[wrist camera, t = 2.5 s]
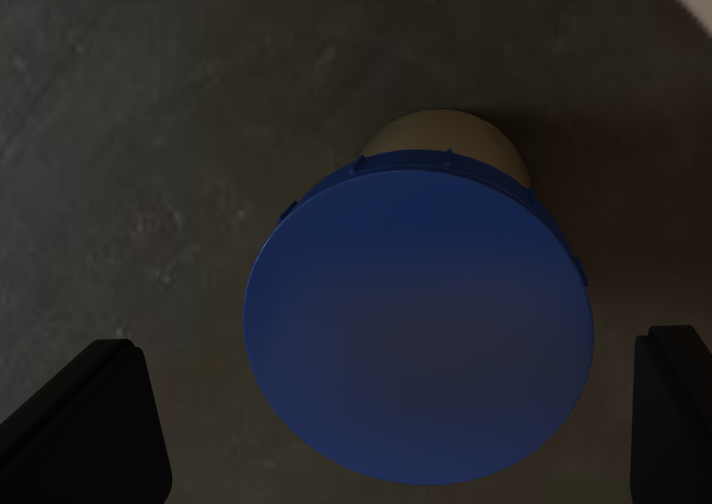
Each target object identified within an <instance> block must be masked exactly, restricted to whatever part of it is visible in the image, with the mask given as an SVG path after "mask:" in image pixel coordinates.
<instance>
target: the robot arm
mask: <svg viewBox="0 0 712 504" xmlns="http://www.w3.org/2000/svg"><path fill="white" fill-rule="evenodd" d="M171 487H172V471H171V467H170V463H169V459H168V454H167V450H166V446H165V442H164V437H163V433H162V429H161V425H160V421H159V416H158V412H157V408H156V404H155V399H154V395H153V391H152V387H151V382H150V378H149V374H148V370H147V365H146V361H145V357H144V354H143V351H142V350H141V348H139V347H135V346H134V344H133V343H132V341H130V340H129V339H107V340H95V341H93V342H92V343H91V344H90V345H88V346H87V347H86V348H85V349H84V350H83V351H82V352H81V353H80V354H78V355H77V356H76V357H75V358H74V359H73V360H72V361H71V362H70V363H68V364H67V365H66V366H65V367H64V368H63V369H62V370H61V371H59V372H58V373H57V374H56V375H55V376H54V377H53V378H52V379H51V380H49V381H48V382H47V383H46V384H45V385H44V386H43V387H42V388H41V389H39V390H38V391H37V392H36V393H35V394H34V395H33V396H32V397H30V398H29V399H28V400H27V401H26V402H25V403H24V404H23V405H22V406H20V407H19V408H18V409H17V410H16V411H15V412H14V413H13V414H12V415H10V416H9V417H8V418H7V419H6V420H5V421H4V422H3V423H1V424H0V504H164V502H165V501H166V499H167V497H168V495H169V493H170V490H171ZM630 487H631V496H632V501H633V504H712V354H711V352H710V351H709V350H708V348H707V347H706V345H705V344H704V342H703V341H702V339H701V338H700V337H699V335H698V334H697V332H696V331H695V329H694V328H693V327H692V326H691V325H676V326H651V327H650V328H649V332H648V335H647V336H637V337H636V341H635V358H634V386H633V414H632V442H631V470H630Z"/></svg>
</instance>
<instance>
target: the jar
mask: <svg viewBox="0 0 712 504" xmlns="http://www.w3.org/2000/svg"><path fill="white" fill-rule="evenodd" d="M405 149H429V150H437V151H445V152H447V149H453V152H452V153H455V154H459V155H463V156H467V157H471V158H473V159H476V160H478V161H481V162H483V163H486V164H488V165H491V166H493V167H495V168H497V169H498V170H500V171H502V172H504V173H505V174H507V175H509V176H511V177H512V178H514V179H515V180H516V181H518V182H519V183H520V184H522V185H523V186H524V187H526V188H527V189H528V188H529V187H531V188H533V185H532V182H531V178H530V175H529V172H528V170H527V167H526V164H525V162H524V160H523V158H522V157H521V155H520V153H519V151H518V150H517V149H516V147H515V146H514V145H513V143H512V142H511V141H510V140H509V139H508V138H507V137H506V136H505V135H504V134H503V133H502V132H501V131H500V130H498V129H497V128H496V127H494V126H493V125H491V124H490V123H488V122H486V121H484V120H483V119H481V118H478V117H476V116H473V115H471V114H468V113H464V112H460V111H454V110H446V109H435V110H425V111H419V112H415V113H412V114H408V115H406V116H403V117H401V118H399V119H396V120H395V121H393V122H391V123H390V124H388V125H386V126H385V127H383V128H382V129H381V130H380V131H378V132H377V133H376V134H375V135H374V136H373V137H372V138H371V139H370V140H369V141H368V142H367V144H366V145H365V146H364V147H363V149H362V150H361V151H360V152H359V154H358V155H357V156H356V158H355V159H354V160H353V161H352V163H353V162H355V161H356V160H357V158H358V157H359V156H361V155H364V157H365V158H366V157H369V156H373V155H376V154H380V153H384V152H391V151H398V150H405ZM533 189H534V188H533Z"/></svg>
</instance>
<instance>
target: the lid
mask: <svg viewBox="0 0 712 504" xmlns="http://www.w3.org/2000/svg"><path fill="white" fill-rule="evenodd" d="M452 152H453V149H447V152H445V151H437V150H429V149H405V150H398V151H391V152H384V153H380V154H376V155H373V156H369V157H366V158H365V157H364V155H361V156H359V157H358V158H357V160H356V161H355V162H353V163H351V164H348V165H346V166H344V167H342V168H340V169H339V170H337V171H335V172H334V173H332V174H330V175H329V176H327V177H325V178H324V179H323V180H322V181H320V182H319V183H318V184H317V185H315V186H314V187H313V188H312V189H311V190H310V191H309V192H308V193H307V194H306V195H305V196H304V197H303V198H302V199H301V200H300V201H299V202H296V201H294V202H293V203H292V204H291V205H290V206H289V208H288V209H287V210H286V211H285V212H284V213H283V214H282V215H281V216H280V217H279V218H278V220H277V222H278V223H279V225H278V226H277V227H276V228H275V229H274V230H273V232H272V233H271V235H270V236H269V238H268V239H267V240H266V242H265V243H264V245H263V246H262V248H261V250H260V252H259V254H258V256H257V258H256V260H255V262H254V264H253V266H252V269H251V272H250V275H249V278H248V282H247V285H246V291H245V296H244V302H243V332H244V341H245V347H246V351H247V355H248V359H249V363H250V366H251V368H252V371H253V373H254V376H255V378H256V381H257V383H258V385H259V387H260V388H261V390H262V392H263V394H264V396H265V398H266V399H267V401H268V402H269V404H270V405H271V406H272V408H273V409H274V411H275V412H276V413H277V415H278V416H279V417H280V418H281V419H282V420H283V422H284V423H285V424H286V425H287V426H288V427H289V428H290V429H291V430H292V431H293V432H294V433H295V434H296V435H297V436H298V437H300V438H301V439H302V440H303V441H304V442H305V443H307V444H308V445H309V446H311V447H312V448H314V449H315V450H316V451H318V452H319V453H321V454H322V455H324V456H325V457H327V458H329V459H331V460H333V461H334V462H336V463H338V464H340V465H342V466H344V467H346V468H349V469H351V470H354V471H356V472H358V473H361V474H364V475H367V476H371V477H374V478H377V479H381V480H385V481H391V482H396V483H402V484H413V485H445V484H452V483H459V482H466V481H470V480H474V479H477V478H481V477H485V476H488V475H490V474H493V473H496V472H498V471H501V470H503V469H506V468H507V467H509V466H511V465H513V464H515V463H517V462H519V461H521V460H522V459H524V458H525V457H527V456H528V455H530V454H531V453H532V452H534V451H535V450H537V449H538V448H539V447H541V446H542V445H543V444H544V443H545V442H546V441H547V440H548V439H549V438H550V437H551V436H552V435H554V434H555V433H556V431H557V430H558V429H559V428H560V426H561V425H562V424H563V423H564V421H565V420H566V419H567V418H568V416H569V415H570V413H571V411H572V410H573V408H574V406H575V405H576V403H577V401H578V400H579V398H580V395H581V393H582V391H583V388H584V386H585V383H586V381H587V378H588V374H589V370H590V366H591V362H592V356H593V344H594V328H593V315H592V310H591V306H590V301H589V296H588V293H587V290H586V288H585V286H589V283H588V280H587V278H586V275H585V273H584V270H583V268H582V265H581V263H580V260H579V258H575V259H574V256H573V254H572V251H571V248H570V246H569V243H568V240H567V239H566V237H565V235H564V233H563V232H562V230H561V228H560V226H559V224H558V223H557V221H556V220H555V219H554V217H553V216H552V215H551V213H550V212H549V211H548V209H547V208H546V207H545V205H544V204H543V203H542V202H541V201H540V200H539V199H538V198H537V197H536V195H535V192H534V189H533V188H531V187H529V188H528V189H527V188H526V187H524V186H523V185H522V184H520V183H519V182H518V181H516V180H515V179H514V178H512V177H511V176H509V175H507V174H505V173H504V172H502V171H500V170H498V169H497V168H495V167H493V166H491V165H488V164H486V163H483V162H481V161H478V160H476V159H473V158H471V157H467V156H463V155H459V154H455V153H452Z"/></svg>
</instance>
